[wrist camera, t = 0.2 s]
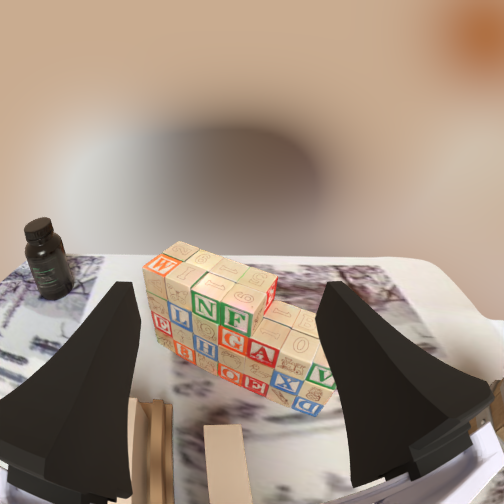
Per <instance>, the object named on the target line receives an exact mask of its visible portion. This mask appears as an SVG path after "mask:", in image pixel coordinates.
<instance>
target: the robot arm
mask: <svg viewBox="0 0 504 504" xmlns="http://www.w3.org/2000/svg"><path fill="white" fill-rule="evenodd" d="M315 322H316V327H317V332H318V336H319V340H320V343H321V346H322V349H323V351H324V354H325V357H326V359H327V362H328V365H329V367H330V370H331V373H332V376H333V378H334V381H335V384H336V387H337V390H338V393H339V396H340V401H341V405H342V410H343V414H344V420H345V425H346V431H347V438H348V446H349V455H350V471H351V483H352V486H353V488H356V487H359V486H361V485H364V484H367V483H370V482H372V481H375V480H378V479H380V478H383V477H385V480H386V482H384V483H381V484H379V485H376V486H374V487H371V488H368V489H366V490H363V491H360V492H357V493H354V494H351V495H348V496H345V497H342V498H338V499H335V500H331V501H328V502H324V503H320V504H372V503H374V504H469V503H470V502H471V501H472V500H473V499H474V498H475V497H476V495H477V494H478V493H479V492H480V491H481V490H482V489H483V487H484V486H485V485H486V484H487V483H488V482H489V481H490V480H491V479H492V478H493V477H494V476H495V475H496V474H497V473H498V472H499V470H500V469H501V468H502V467H503V466H504V453H503V451H502V448H501V446H500V443H499V441H498V438H497V436H496V434H495V431H494V429H493V427H492V425H491V423H490V422H489V421H488V422H487V423H486V424H484V425H483V426H482V427H480V428H479V429H477V430H476V431H475V432H473V433H472V434H470V435H469V433H468V430H470V429H471V425H470V423H469V421H470V420H472V419H473V418H474V417H476V416H477V415H478V414H479V413H481V412H482V411H483V410H484V409H485V408H487V407H488V406H489V405H490V404H491V403H492V402H493V401H494V399H495V396H494V394H493V393H492V391H491V389H490V387H489V385H488V383H487V382H486V381H484V380H481V379H479V378H476V377H473V376H471V375H468V374H466V373H464V372H461V371H459V370H457V369H455V368H453V367H451V366H449V365H447V364H446V363H444V362H442V361H440V360H439V359H437V358H435V357H434V356H432V355H430V354H429V353H427V352H426V351H424V350H423V349H421V348H420V347H418V346H417V345H416V344H414V343H413V342H411V341H410V340H409V339H407V338H406V337H405V336H403V335H402V334H401V333H400V332H398V331H397V330H396V329H395V328H394V327H392V326H391V325H390V324H389V323H388V322H387V321H385V320H384V319H383V318H382V317H381V316H380V315H379V314H378V313H376V312H375V311H374V310H373V309H372V308H371V307H370V306H369V305H368V304H367V303H365V302H364V301H363V300H362V299H361V298H360V297H359V296H358V295H357V294H356V293H355V292H354V291H352V290H351V289H350V288H349V287H348V286H347V285H346V284H344V283H343V282H342V281H332V282H327V285H326V288H325V291H324V293H323V296H322V299H321V302H320V305H319V308H318V311H317V313H316V316H315ZM140 329H141V318H140V314H139V310H138V306H137V302H136V298H135V293H134V289H133V284H132V282H116V283H115V284H114V285H113V286H112V287H111V288H110V290H109V291H108V292H107V293H106V295H105V296H104V297H103V298H102V300H101V301H100V302H99V303H98V305H97V306H96V307H95V308H94V310H93V311H92V312H91V313H90V315H89V316H88V317H87V318H86V319H85V321H84V322H83V323H82V324H81V326H80V327H79V328H78V329H77V330H76V331H75V333H74V334H73V335H72V336H71V337H70V338H69V339H68V341H67V342H66V343H65V344H64V345H63V346H62V347H61V348H60V349H59V350H58V351H57V353H56V354H55V355H54V356H53V357H52V358H51V359H50V360H49V361H48V362H46V363H45V364H44V365H43V366H42V367H41V368H40V369H39V370H37V371H36V372H35V373H34V374H33V375H32V376H31V377H30V378H29V379H27V380H26V381H25V382H24V383H22V384H21V385H20V386H19V387H17V388H16V389H15V390H13V391H12V392H11V393H9V394H8V395H6V396H5V397H4V398H2V399H0V460H1V461H3V462H5V463H7V464H8V465H9V466H8V470H7V469H5V468H3V467H1V466H0V504H108V501H110V502H115V503H116V502H117V497H118V498H123V499H127V498H129V497H130V496H132V495H133V490H132V484H131V477H130V468H129V455H128V404H129V395H130V389H131V383H132V378H133V373H134V368H135V362H136V357H137V352H138V347H139V339H140Z"/></svg>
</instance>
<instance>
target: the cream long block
mask: <svg viewBox="0 0 504 504" xmlns="http://www.w3.org/2000/svg"><path fill="white" fill-rule="evenodd" d="M147 436H148V418H147V416H146V414H145V412H144V410H143V409H142V407H141V405H140V403H139V401H138V399H137V398H130V397H129V404H128V455H129V468H130V477H131V484H132V490H133V495H132V496H130V497H129V498H127V499H123V498H118V497H117V502H116V503H115V502H110V501H108V504H147Z"/></svg>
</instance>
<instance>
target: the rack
mask: <svg viewBox="0 0 504 504" xmlns="http://www.w3.org/2000/svg"><path fill="white" fill-rule="evenodd" d="M139 403H140V405H141V407H142V409H143V410H144V412H145V414H146V416H147V418H148V436H147V504H174V488H173V458H172V416H173V407H172V404H164V402H163V400H155V399H153V403H143V402H139Z"/></svg>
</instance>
